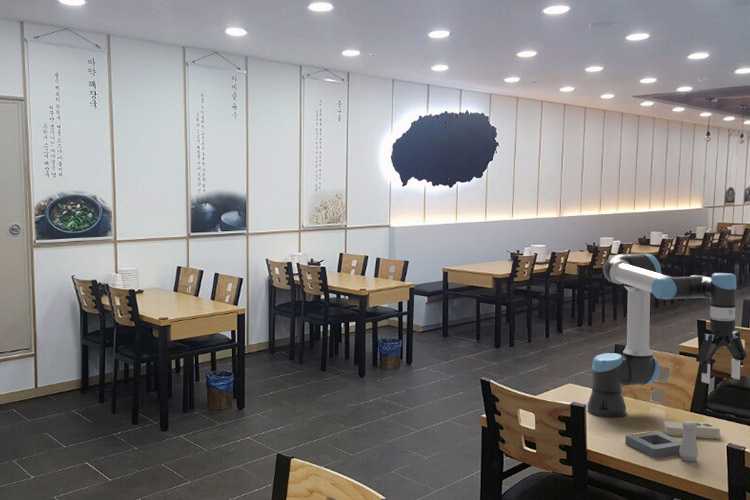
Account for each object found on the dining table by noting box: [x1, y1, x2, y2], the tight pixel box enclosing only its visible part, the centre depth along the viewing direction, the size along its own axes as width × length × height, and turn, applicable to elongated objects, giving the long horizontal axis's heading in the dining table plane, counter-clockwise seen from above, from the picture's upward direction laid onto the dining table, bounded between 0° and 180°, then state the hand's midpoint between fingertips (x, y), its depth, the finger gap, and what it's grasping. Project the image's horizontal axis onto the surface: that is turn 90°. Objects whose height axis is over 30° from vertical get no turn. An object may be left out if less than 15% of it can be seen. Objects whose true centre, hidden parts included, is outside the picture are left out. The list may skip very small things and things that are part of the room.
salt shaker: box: [679, 420, 699, 463], centre depth 223 cm, size 6×6×13 cm
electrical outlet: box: [663, 420, 721, 440], centre depth 248 cm, size 7×4×18 cm
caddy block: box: [625, 430, 682, 459], centre depth 233 cm, size 14×14×3 cm
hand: (720, 380), depth 227 cm, fingers open, 13 cm apart
